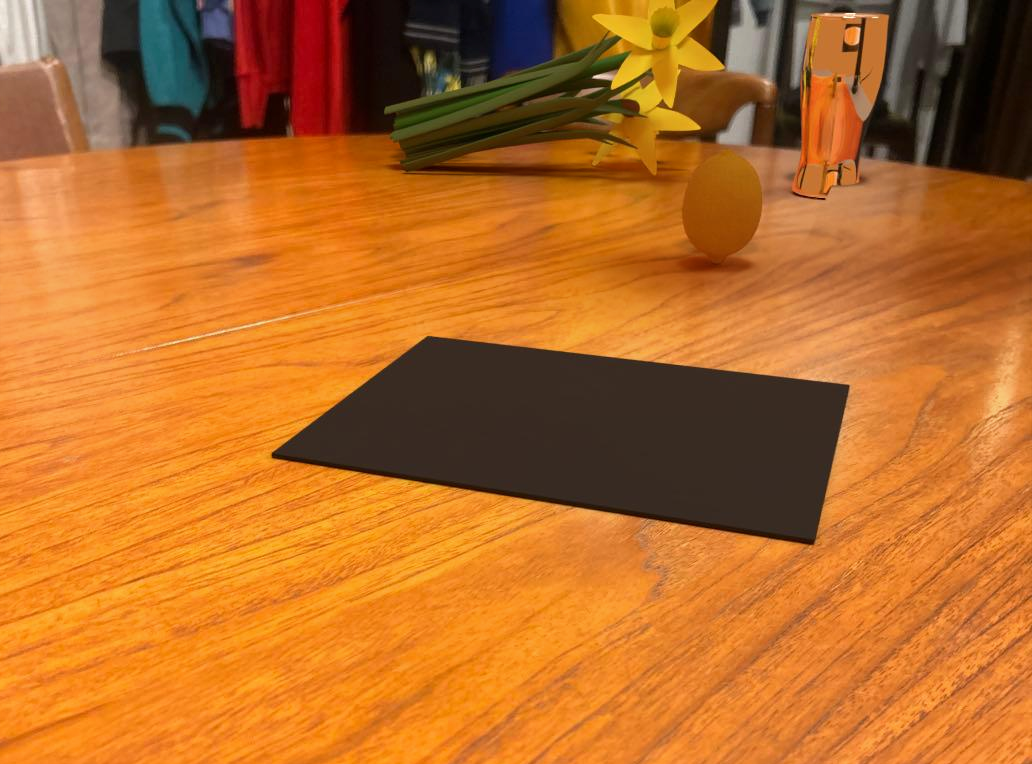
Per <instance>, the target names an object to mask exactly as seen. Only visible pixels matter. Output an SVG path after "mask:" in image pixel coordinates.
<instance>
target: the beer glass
mask: <svg viewBox="0 0 1032 764" xmlns="http://www.w3.org/2000/svg"><path fill="white" fill-rule="evenodd" d="M889 18H890V15H889V14H885V13H870V12H869V13H867V12H819V13H818V12H817V13H812V14H810V18H809V19H810V20H809V24H808V30H807V35H806V38H805V39H806V40H805V45H804V49H803V56H802V62H801V71H800V82H799V83H800V84H799V85H800V87H799V88H800V89H799V91H800V94H799V99H800V103H799V105H800V127H801V144H800V145H801V146H800V154H799V160H798V164H797V169H796V172H795V174H794V179H793V181H792V185H791V192H792V191H794V192H796V193H800V194H803V195H807V196H814V197H826V198H827V197H828V195H829V193H830V191H831V189H832V187H833V186H848V185H849V186H850V185H856V184H858V183H860V160H861V153H862V148H863V143H864V140H865V136H866V133H867V131H868V128H869V124H870V121H871V118H872V116H873V112H874V109H875V106H876V102H877V99H878V96H879V91H880V88H881V85H882V79H883V73H884V68H885V60H886V53H887V42H888V28H889V27H888V26H889V20H890V19H889Z"/></svg>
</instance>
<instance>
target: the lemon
mask: <svg viewBox="0 0 1032 764" xmlns="http://www.w3.org/2000/svg"><path fill="white" fill-rule="evenodd" d="M681 210H682V211H681V214H682V215H681V216H682V217H681V219H682V224H683V229H684V232H685V235H686V237H687V239H688V240H689V242H690V243H691V245H692V246H693V247H694V248H695V249H696V250H698V251H700V252H701V253H703V254H705V255H706V256H707V258H708V259H709V260H710V262H711V263H712V264H716V265H717V264H722V263H723V262H724V260H726V259H727V258H728V257H729V256H731V255H734V254H736V253H738V252H740V251H741V250H743V249H744V248H745V247H746V246H747V245H748V244H749V243H750V241H751V240H752V239H753V237H754V236H755V234H756V233H757V230H758V227H759V225H760V222H761V218H762V212H763V191H762V185H761V180H760V176H759V174H758V173H757V170H756V169H755V167H754V166H753V165H752V164H751V163H750V162H749V161H748V160H747V159H746V158H744V157H743V156H740V155H738V154H736V152H735V151H734V149H732V148H728V147H727V148H722V149H721V150H720V151H719V153H717V154H714V155H712V156H709V157H707V158H706V159H705V160H703V161H702V162H700V163H699V164H698V165H697V167H696V168H694V170H693V172H692V174H691V175H690V178H689V180H688V182H687V185H686V187H685V191H684V195H683V200H682V209H681Z"/></svg>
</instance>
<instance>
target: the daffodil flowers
mask: <svg viewBox="0 0 1032 764" xmlns="http://www.w3.org/2000/svg"><path fill="white" fill-rule="evenodd" d="M718 1H719V0H689V1H688V2H686V3H684V4H682V5H681V6H679V7H678V8H676V6H675V5H676V4H675V0H648V6H647V12H646V13H647V14H646V15H647V18H644V17H638V16H633V15H632V16H631V15H625V14H606V13H596V14H593V15H591V18H592V19H593V20H594V21H595V22H597V23H599V24H600V25H601V26H603V27H604V28H606V29H607V30H608V31H607V32H606V33H605V34H604V35H603V37H602V38H601V39H600V40H599V42H596V43H594V44H591V45H589V46H586V47H583V48H581V49H578V50H575V51H573V52H570V53H567V54H565V55H562V56H560V57H559V56H558V57H557V58H554V59H552V60H549V61H545V62H543V63H540V64H537V65H534V66H532V67H528V68H526V69H523V70H522V69H521V70H519V71H517V72H514V73H511V74H508V75H505V76H502V77H499V78H496V79H494V80H490V81H487V82H483V83H479V84H475V85H470V86H465V87H462V88H456V89H452V90H448V91H443V92H439V93H434V94H430V95H427V96H423V97H420V98H416V99H412V100H408V101H404V102H399V103H396V104H391V105H389V106H385V108H384V116H385V115H390V114H395V115H396V117H394V123H393V124H392V127H393V130H394V131H392V133H390V134H389V139H390V140H392V143H393V144H395V143H398V144H399V147H400V149H401V150H402V152H403V153H404V155H405V158H402V159H399V163H400V165H401V167H402V169H403V170H404V172H405V173H406V172H407V173H409V172H413V171H416V170H420V169H423V168H427V167H432V166H434V165H437V164H441V163H444V162H447V161H451V160H454V159H457V158H461V157H463V156H467V155H470V154H474V153H479V152H486V151H489V150H490V151H491V150H496V149H501V148H503V149H504V148H510V147H518V146H525V145H531V144H541V143H548V142H556V141H558V142H559V141H571V140H584V139H586V140H587V139H589V140H593V141H596V142H599V143H601V145H600V147H599V149H598V150H597V153H596V154H595V157H594V159H593V160H592V163H591V165H594V166H596V165H598V164H599V163H600V162H601V160H603V158H605V157H607V155H609V154H610V153H611V152H613V151H614V150H615V149H616V148H618V147H619V146H620V145H623V146H626V147H629V148H632V149H634V150H635V152H636V154H637V156H638V157H639V158H640V160H641V162H642V163H643V164H644V166H645V167H646V169H648V171H649V172H650V174H651V175H653V176H654V175H655V176H656V175H657V173H658V172H657V170H658V163H657V148H656V147H657V146H656V141H655V139H657V136H658V135H660V132H659V131H662V132H663V131H664V132H665V131H666V132H667V131H668V132H685V131H698V130H701V129H702V127H701V126H700V125H699V124H698V123H697V122H695V121H694V120H693V119H691V118H690V117H689V116H687V115H684V114H682V113H681V112H678V111H675V110H670V109H673V107H674V102H675V97H676V93H677V85H678V77H679V75H680V73H681V71H682V70H681V68H680V69H679V66H683V67H685V68H689V69H692V70H695V71H703V72H714V71H715V72H717V71H722V70H725V69H726V67H725V66H724V64H723V63H722V62H721V61H720V60H719V59H718V58H717V57H716V56H715V55H714V54H713V53H712V52H710V51H709V50H708V49H707V48H706V47H704V46H703V45H702V44H700V43H699V42H698V41H696V40H695V39H694V38H693V37H691V36H688V35H689V34H690V33H691V32H692V31H693V30H694V29H695V28H696V27H697V26H698V25H699V24H700V23H702V22H703V21H704V20H705V19H706V18H707V17H708V16H709V14H710V13H711V11H712V10H713V9H714V7H715V6H716V5H717V3H718ZM610 32H612V33H613V34H615V35H613V36H610V37H608V38H607V36H608V35H609V33H610ZM622 39H624V40H625V41H627V42H630V43H631V44H633V45H635V46H634V47H633V49H632V50H629V51H624V52H621V53H618V54H615V55H614V54H613V55H610V56H606V57H603V58H600V57H602V55H603V54H604V53H606V52H607V51H609V50H610V49H611V48H613V47H614V46H615V45H617V43H619V41H621V40H622ZM599 58H600V59H599ZM617 70H618V71H617ZM613 71H617V73H616V75H615V76H614V78H613V79H612V80H610V79H606V78H605V79H604V78H594V77H595V76H599V75H603V74H607V73H609V72H613ZM646 76H648V77H651V78H654V79H653V80H652V81H651V82H649V84H648V85H647V86H645V87H644V88H643V86H642V84H641V80H643V79H644V78H645V77H646ZM591 89H598V90H595V91H592V92H590V93H587V94H584V95H582V96H578V95H580V93H581V92H582V91H584V90H591ZM559 94H561V95H559ZM554 95H558V96H556V97H554V98H551V99H546V100H542V101H538V102H533V103H529V104H524V105H520V106H516V107H512V108H507V107H510V106H515V105H519V104H522V103H527V102H531V101H534V100H538V99H543V98H546V97H549V96H554ZM618 95H619V98H618V99H612V98H614V97H616V96H618ZM662 100H663V102H664V104H665V105H666V106H667V107H668V108H670V109H667V108H663V107H658V105H659V104H660V103H661V102H662ZM503 108H507V109H503ZM499 109H503V110H500V111H495V110H499ZM492 111H495V112H492ZM490 112H492V113H490ZM596 117H599V118H602V119H604V120H606V121H609V122H611V123H614V124H613V125H612V127H611V129H610V130H609V132H604V131H599V130H593V129H579V130H574V129H560V130H552V129H556V128H560V127H563V126H567V125H571V124H575V123H583V124H590V125H598V126H599V125H600V126H609V123H607V122H604V121H602V120H599V119H596ZM627 138H628V140H629V142H628V141H626V139H627Z"/></svg>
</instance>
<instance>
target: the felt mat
mask: <svg viewBox="0 0 1032 764" xmlns="http://www.w3.org/2000/svg"><path fill="white" fill-rule="evenodd" d="M850 386H851V384H849V383H848V384H847V383H839V382H829V381H823V380H822V381H821V380H812V379H805V378H796V377H795V378H794V377H787V376H780V375H779V376H778V375H770V374H762V373H752V372H744V371H736V370H727V369H717V368H710V367H709V368H708V367H700V366H692V365H683V364H675V363H667V362H657V361H649V360H639V359H632V358H622V357H614V356H607V355H599V354H598V355H597V354H589V353H580V352H571V351H564V350H563V351H562V350H554V349H546V348H537V347H528V346H520V345H511V344H502V343H495V342H494V343H493V342H485V341H478V340H477V341H476V340H468V339H461V338H459V339H458V338H452V337H451V338H450V337H442V336H434V335H426V336H425V337H424V338H423V339H421V340H420V341H418V342H417V343H416V344H414V345H413V346H412V347H410V348H409V349H408V350H406V351H405V352H404V353H402V354H401V355H400V356H399V357H397V358H395V359H394V360H393V361H392V362H391V363H389V364H388V365H386V366H385V367H384V368H383V369H381V370H380V371H378V372H377V373H376V374H374V375H373V376H372V377H370V378H369V379H368V380H366V381H365V382H363V384H361V385H360V386H359V387H357V388H356V389H355V390H353V391H352V392H350V393H349V394H348V395H347V396H345V397H344V398H342V399H341V400H340V401H338V402H337V403H336V404H334V406H332V407H331V408H329V409H328V410H327V411H325V412H324V413H322V414H321V415H320V416H318V417H317V418H316V419H315V420H313V421H312V422H311V423H309V424H308V425H307V426H305V427H304V428H303V429H301V430H300V431H298V433H295V435H293V436H292V437H290V439H288V440H287V441H285V442H284V443H283V444H281V445H280V446H279V447H277V448H276V449H275V450H273V451H272V452H271V458H276V459H281V460H282V459H283V460H289V461H295V462H302V463H307V464H313V465H320V466H326V467H332V468H339V469H346V470H351V471H357V472H363V473H370V474H374V475H375V474H376V475H381V476H388V477H395V478H399V479H400V478H402V479H406V480H413V481H419V482H426V483H431V484H437V485H438V484H439V485H444V486H451V487H457V488H464V489H469V490H476V491H480V492H481V491H482V492H487V493H494V494H499V495H507V496H513V497H519V498H526V499H530V500H538V501H545V502H551V503H556V504H563V505H569V506H576V507H581V508H587V509H593V510H600V511H606V512H612V513H619V514H625V515H632V516H637V517H645V518H650V519H655V520H656V519H657V520H662V521H668V522H676V523H679V524H680V523H681V524H686V525H694V526H701V527H705V528H711V529H712V528H713V529H718V530H724V531H731V532H736V533H737V532H738V533H743V534H750V535H755V536H761V537H766V538H767V537H768V538H774V539H780V540H787V541H793V542H799V543H804V544H805V543H806V544H812V545H814V544H815V542H816V538H817V533H818V529H819V525H820V519H821V516H822V511H823V506H824V502H825V498H826V493H827V490H828V489H827V488H828V484H829V480H830V477H831V476H830V475H831V471H832V467H833V463H834V459H835V453H836V449H837V444H838V441H839V437H840V431H841V426H842V422H843V418H844V414H845V408H846V404H847V402H848V401H847V400H848V397H849V396H848V395H849V391H850Z"/></svg>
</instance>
